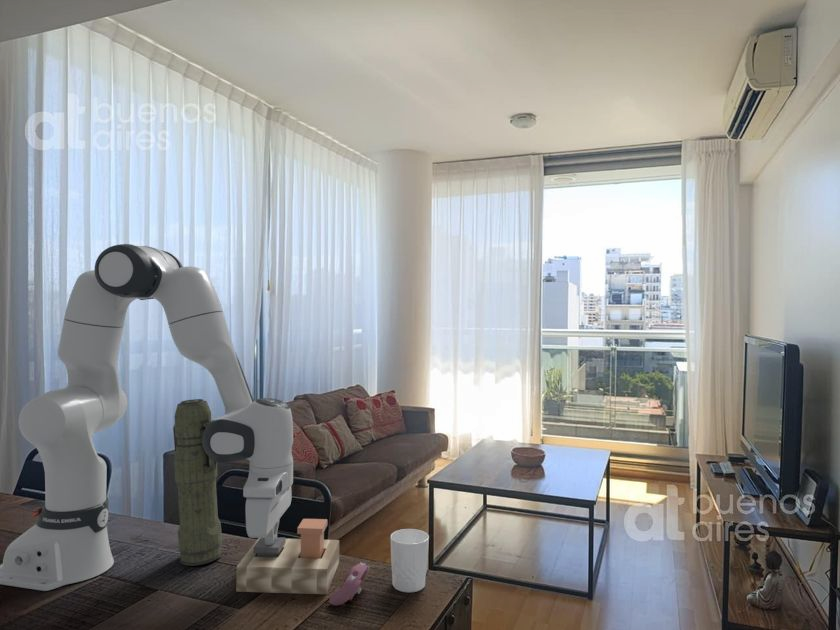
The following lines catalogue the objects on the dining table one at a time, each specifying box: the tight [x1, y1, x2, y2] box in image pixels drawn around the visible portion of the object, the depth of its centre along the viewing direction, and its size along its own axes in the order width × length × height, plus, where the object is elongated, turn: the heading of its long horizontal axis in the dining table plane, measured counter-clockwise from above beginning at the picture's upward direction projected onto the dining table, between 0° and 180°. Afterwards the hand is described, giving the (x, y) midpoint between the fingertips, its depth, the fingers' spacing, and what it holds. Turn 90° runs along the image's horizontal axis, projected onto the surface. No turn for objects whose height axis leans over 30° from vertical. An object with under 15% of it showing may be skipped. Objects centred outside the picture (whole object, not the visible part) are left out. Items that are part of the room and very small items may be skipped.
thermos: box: [172, 398, 223, 567], centre depth 125 cm, size 9×12×35 cm
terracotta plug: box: [296, 518, 328, 559], centre depth 117 cm, size 5×5×7 cm
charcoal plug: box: [253, 536, 286, 557], centre depth 117 cm, size 5×5×7 cm
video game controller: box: [329, 561, 371, 606], centre depth 110 cm, size 10×5×7 cm, turn 169°
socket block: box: [235, 538, 340, 595], centre depth 117 cm, size 18×14×5 cm
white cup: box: [390, 528, 430, 593], centre depth 114 cm, size 8×8×10 cm
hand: (271, 542), depth 117 cm, fingers closed, pressing on charcoal plug
